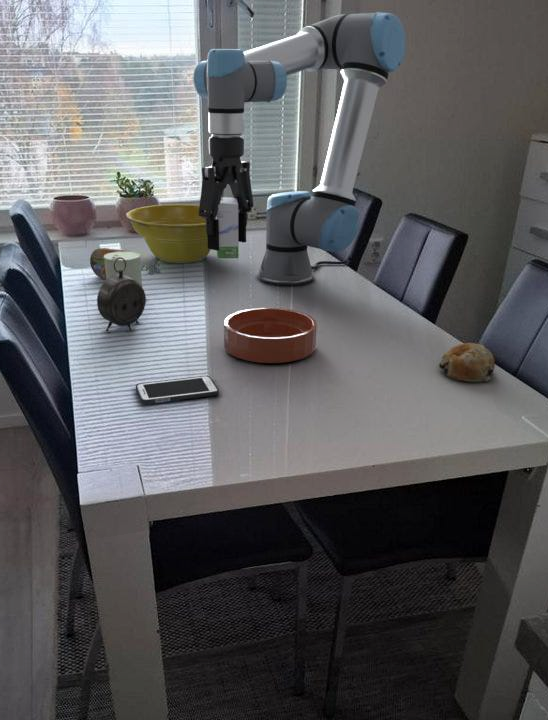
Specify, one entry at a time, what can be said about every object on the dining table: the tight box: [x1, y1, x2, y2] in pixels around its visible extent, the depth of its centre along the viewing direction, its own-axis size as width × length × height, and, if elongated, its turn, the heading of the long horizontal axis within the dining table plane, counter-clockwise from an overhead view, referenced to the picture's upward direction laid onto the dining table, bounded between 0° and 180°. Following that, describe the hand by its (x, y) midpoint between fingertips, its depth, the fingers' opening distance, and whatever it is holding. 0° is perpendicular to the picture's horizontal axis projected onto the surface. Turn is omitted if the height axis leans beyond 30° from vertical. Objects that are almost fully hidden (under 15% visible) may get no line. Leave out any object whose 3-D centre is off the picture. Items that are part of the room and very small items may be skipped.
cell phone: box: [135, 375, 220, 405], centre depth 125 cm, size 8×15×1 cm, turn 107°
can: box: [104, 250, 143, 287], centre depth 169 cm, size 9×9×12 cm
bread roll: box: [438, 342, 496, 383], centre depth 132 cm, size 10×10×8 cm
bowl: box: [223, 307, 318, 364], centre depth 143 cm, size 20×20×6 cm
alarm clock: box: [96, 257, 147, 333], centre depth 150 cm, size 11×5×16 cm, turn 135°
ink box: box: [216, 196, 239, 260], centre depth 150 cm, size 8×5×12 cm, turn 4°
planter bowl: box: [125, 203, 212, 264], centre depth 206 cm, size 32×32×13 cm
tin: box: [89, 247, 133, 280], centre depth 187 cm, size 15×3×8 cm, turn 68°
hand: (227, 245), depth 152 cm, fingers closed on ink box, 9 cm apart
